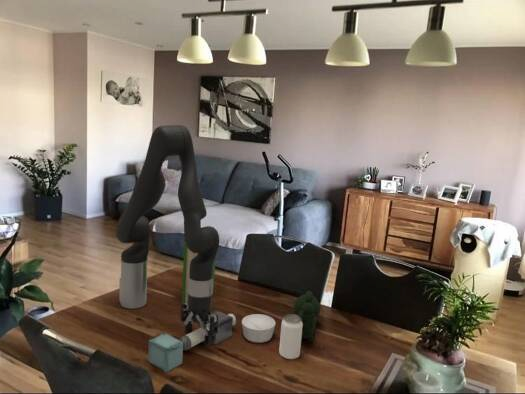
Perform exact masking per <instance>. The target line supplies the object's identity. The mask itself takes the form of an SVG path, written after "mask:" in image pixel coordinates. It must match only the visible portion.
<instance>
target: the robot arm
mask: <svg viewBox="0 0 525 394" xmlns="http://www.w3.org/2000/svg"><path fill="white" fill-rule="evenodd" d="M149 140H150V141H149V143H148V147H147V151H146V155H145V158H144V162H143V165H142V168H141V170H140V173H139V175H138V178H137V180H136V182H135V184H134V186H133V190H132V193H131V196H130V198H129V201H128V203H127V205H126V206H125V209H124V210H123V212H122V213H121V216H120V218H119V220H118V222H117V225H116V230H115V233H116V238H117V240H118V241H119V242H120V243H122V244H132V245H130V246H129V247H128V248H126V249H124V250H122V252H121V253H120V254H121V255H120V278H119V283H118V284H119V292H118V293H119V294H118V295H119V299H118V302H119V303H120V306H121V307H123V308H124V309H139V308H142V307H144V306H145V305H147V289H148V288H147V287H148V284H147V283H148V255H149V252H150V240H151V238H150V237H151V226H150V225H151V224H150V221H149V219H148V218H147V217H146V216H145V215H146V213H148V212H149V211H151V210H152V209H153V208H155V206H157V205H158V203H159V202H160V200H161V198H162V196H163V194H164V191H165V189H166V178H165V176H164V174H163V173H164V172H163V171H162V168H163V164H164V162H165V160H166V159H167V158H168V157H175V156H178V158H179V162H180V166H181V175H180V180H179V184H178V187H177V188H178V189H177V199H178V202H179V206H180V210H181V213H182V216H183V236H184V243H186V246H187V247H188V249H189V250H190V251H191V252H193V253H198V254H197V256H196V257H194V258H193V259H192V260H191V262H190V272H189V282H188V299H187V302H186V303H183V304H182V303H181V305H180V318H179V319H180V322H183V324H184V334H185V335H187V334H189V333H191V332H193V322H194V323H197V324H198V325H199V324H200V326H201V328H202V329H203V330H204V332H205V338H204V341H203V344H204V346H205V347H208V346H210V345H211V344H213V343H212V335H214V334H216V333H218V315H217V314H216V315H212V314H211V307H212V305H213V292H214V290H213V280H212V277H213V263H214V260H215V261H216V259H215V257H216V258H217V253H218V250H219V246H220V234H219V231H218V230H217V229H216V228H215V227H214V226H212V225H211V226H210V225H207V226H203V227H201V223H202V220H203V219H204V218H206V217H207V214H208V213H207V209H206V206H205V202H204V199H203V195H202V192H201V189H200V183H199V179H198V172H197V163H196V156H195V150H194V148H195V147H194V143H193V138H192V135H191V132H190V131H189V129H188V128H187V126H185V125H182V124H172V125H170V124H169V125H168V124H167V125H160V126H157V127H156V128H155V129H154V130H153V131H152V134H151V137H150V139H149ZM206 321H207V324H206V325H204V323H205V322H206ZM207 327H208V329H209V330H207ZM185 335H184V336H185Z"/></svg>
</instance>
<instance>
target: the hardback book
mask: <svg viewBox="0 0 525 394" xmlns="http://www.w3.org/2000/svg"><path fill="white" fill-rule="evenodd" d="M183 245H184V246H183V262H182V263H183V264H182V290H181V292H182V293H181V304H183V303H186V302H187V299H188V282H189V272H190V262H191V260H192V259H193V258H194V257H196V256H197V254H198V253H193V252H191V251H190V250H189V249H188V247H187V246H186V243H185V242H184V244H183ZM216 258H217V256H216V257H215V260H214V263H213V277H212V280H213V291H214V289H215V288H214V287H215V275H216V274H215V273H216V271H215V270H216Z"/></svg>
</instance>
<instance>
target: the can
mask: <svg viewBox="0 0 525 394" xmlns="http://www.w3.org/2000/svg"><path fill="white" fill-rule="evenodd" d="M302 326H303V324H302V318H301V317H300V316H298V315H295V313H294V314H293V313H289V314H285V315H284V316H283V319H282V320H281V326H280V336H279V338H280V339H279V351H278V353H279V355H280V357H281V358H283V359H286V360H296V359H298V358H299V357H300V355H301V346H302V345H301V344H302V339H301V337H302Z"/></svg>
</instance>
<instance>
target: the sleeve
mask: <svg viewBox="0 0 525 394" xmlns="http://www.w3.org/2000/svg"><path fill="white" fill-rule="evenodd" d="M210 313H211V314H212V315H216V314H217V315H218V333H216V334H214V335H213V336H212V343H211V344H212V345H215V346H216V345H218V344H220V343H221V342H223V341H225V340H227V339H228V338H230V337H232V336H233V326H234V325H233V317H231V316H229V315H228V314H226V313H224V312H222V311H219V310H217V309H215V310H213V311H210ZM206 324H207V321H206V322H205V323H204V325H206ZM199 328H201V326H200V324H198V329H199Z"/></svg>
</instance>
